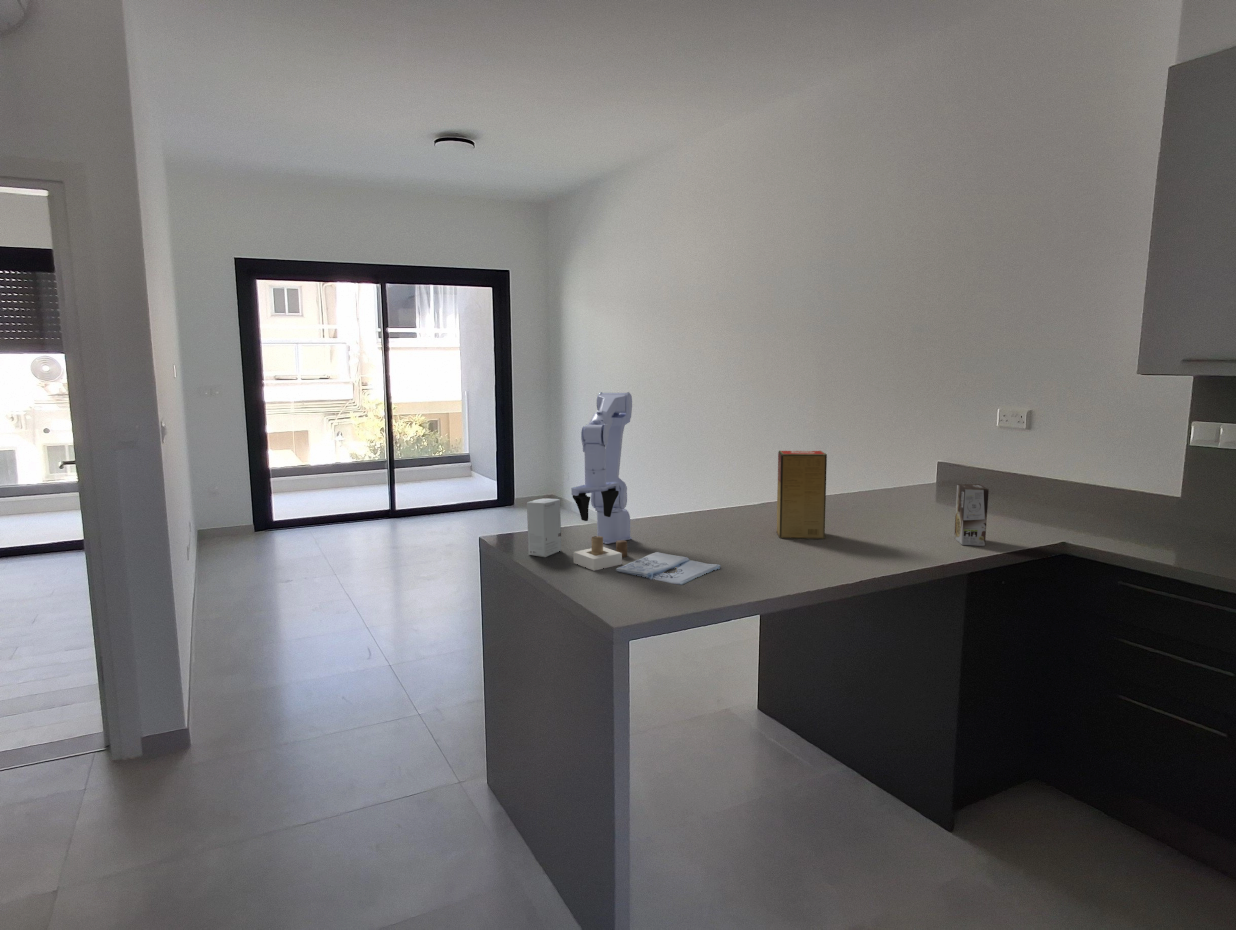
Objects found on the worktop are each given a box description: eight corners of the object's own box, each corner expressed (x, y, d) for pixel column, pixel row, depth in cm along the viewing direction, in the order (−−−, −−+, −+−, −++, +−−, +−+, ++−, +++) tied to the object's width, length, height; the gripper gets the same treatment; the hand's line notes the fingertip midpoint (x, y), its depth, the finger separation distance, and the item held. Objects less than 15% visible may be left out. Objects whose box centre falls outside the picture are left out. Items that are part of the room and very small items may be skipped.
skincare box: (545, 558, 199) (543, 503, 196) (527, 555, 202) (525, 501, 199) (562, 550, 206) (561, 498, 204) (544, 548, 209) (543, 496, 207)
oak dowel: (599, 561, 195) (598, 535, 194) (605, 564, 192) (605, 537, 191) (589, 563, 193) (589, 537, 192) (595, 565, 190) (595, 539, 189)
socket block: (601, 557, 199) (601, 546, 198) (622, 564, 192) (621, 553, 191) (573, 563, 193) (573, 551, 193) (593, 570, 186) (593, 559, 186)
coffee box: (986, 546, 205) (989, 489, 203) (961, 545, 207) (964, 488, 204) (977, 538, 214) (980, 483, 212) (953, 537, 215) (956, 483, 213)
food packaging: (820, 531, 224) (822, 450, 221) (825, 539, 215) (828, 454, 212) (775, 531, 226) (777, 449, 222) (779, 538, 217) (780, 454, 213)
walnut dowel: (622, 553, 202) (622, 539, 201) (629, 556, 200) (629, 541, 199) (613, 555, 200) (613, 541, 200) (620, 558, 198) (620, 543, 197)
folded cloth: (658, 557, 200) (658, 549, 200) (723, 570, 187) (723, 562, 187) (613, 574, 185) (613, 565, 185) (680, 589, 173) (680, 580, 172)
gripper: (581, 473, 191) (582, 524, 193) (625, 467, 200) (626, 517, 202) (566, 470, 197) (567, 520, 199) (610, 464, 205) (610, 512, 207)
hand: (596, 518), depth 201 cm, fingers open, 7 cm apart
